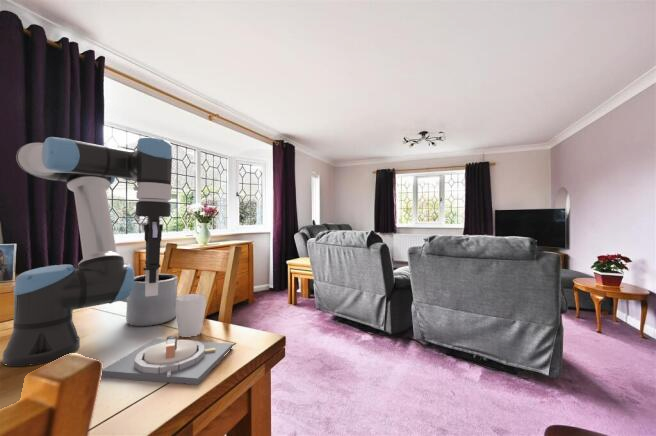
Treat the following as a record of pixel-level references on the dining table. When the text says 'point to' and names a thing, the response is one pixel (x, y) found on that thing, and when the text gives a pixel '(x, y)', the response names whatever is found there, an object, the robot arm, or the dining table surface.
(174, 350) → the dial
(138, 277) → the planter
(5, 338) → the dining table surface
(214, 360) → the panel
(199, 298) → the cup
